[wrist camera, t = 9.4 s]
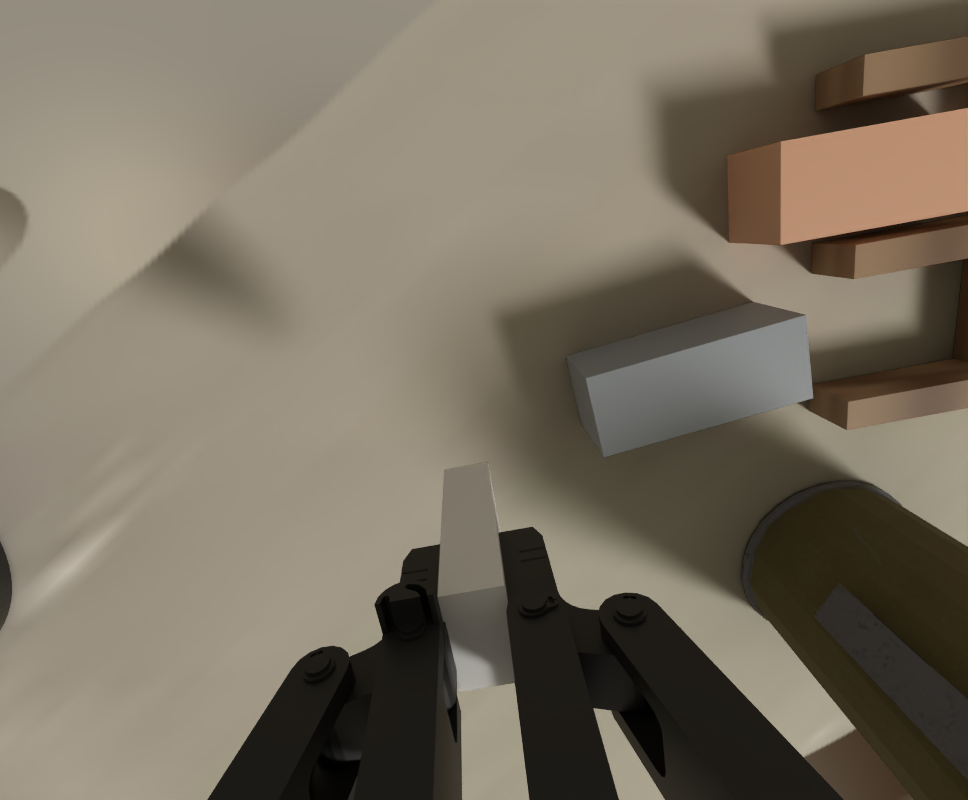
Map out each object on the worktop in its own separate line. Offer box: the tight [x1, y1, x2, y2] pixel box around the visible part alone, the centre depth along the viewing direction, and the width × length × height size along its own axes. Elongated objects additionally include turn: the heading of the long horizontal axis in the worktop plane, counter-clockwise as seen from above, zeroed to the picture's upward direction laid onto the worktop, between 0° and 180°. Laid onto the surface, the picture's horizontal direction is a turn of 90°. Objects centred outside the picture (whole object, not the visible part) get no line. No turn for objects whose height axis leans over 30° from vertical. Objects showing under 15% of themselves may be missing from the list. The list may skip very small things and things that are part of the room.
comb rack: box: [809, 36, 968, 430], centre depth 26 cm, size 10×16×3 cm, turn 10°
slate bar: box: [566, 302, 813, 457], centre depth 26 cm, size 10×4×4 cm, turn 106°
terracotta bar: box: [727, 108, 968, 245], centre depth 24 cm, size 10×4×4 cm, turn 100°
